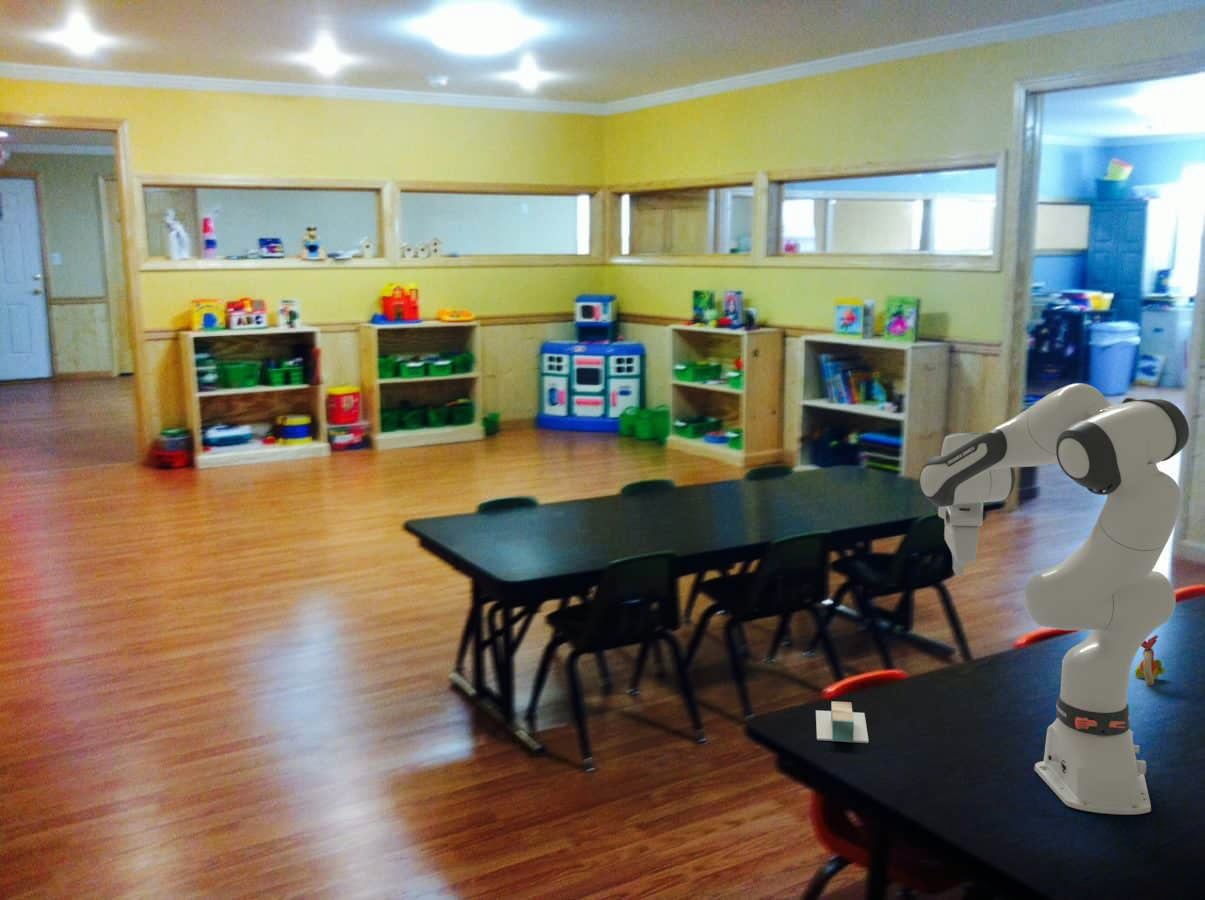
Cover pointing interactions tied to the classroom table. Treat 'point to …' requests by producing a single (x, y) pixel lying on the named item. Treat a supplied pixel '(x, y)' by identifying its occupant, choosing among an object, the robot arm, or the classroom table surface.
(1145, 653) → the bird rattle
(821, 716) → the grey mat
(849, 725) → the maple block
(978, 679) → the classroom table surface
